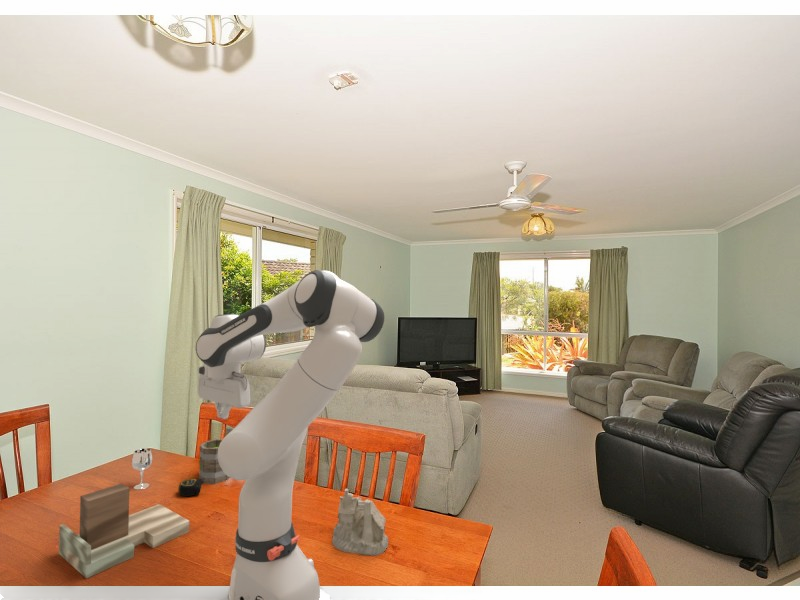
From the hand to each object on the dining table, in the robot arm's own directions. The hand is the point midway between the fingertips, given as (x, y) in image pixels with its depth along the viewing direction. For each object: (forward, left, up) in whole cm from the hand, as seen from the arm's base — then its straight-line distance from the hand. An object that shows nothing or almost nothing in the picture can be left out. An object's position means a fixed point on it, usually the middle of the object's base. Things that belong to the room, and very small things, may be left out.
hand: (222, 417), depth 123 cm
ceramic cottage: (-39, -17, -30) cm, 52 cm away
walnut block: (+9, +26, -26) cm, 38 cm away
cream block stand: (+9, +21, -29) cm, 37 cm away
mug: (+29, -17, -30) cm, 45 cm away
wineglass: (+40, +3, -30) cm, 50 cm away
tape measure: (+22, -5, -30) cm, 38 cm away
